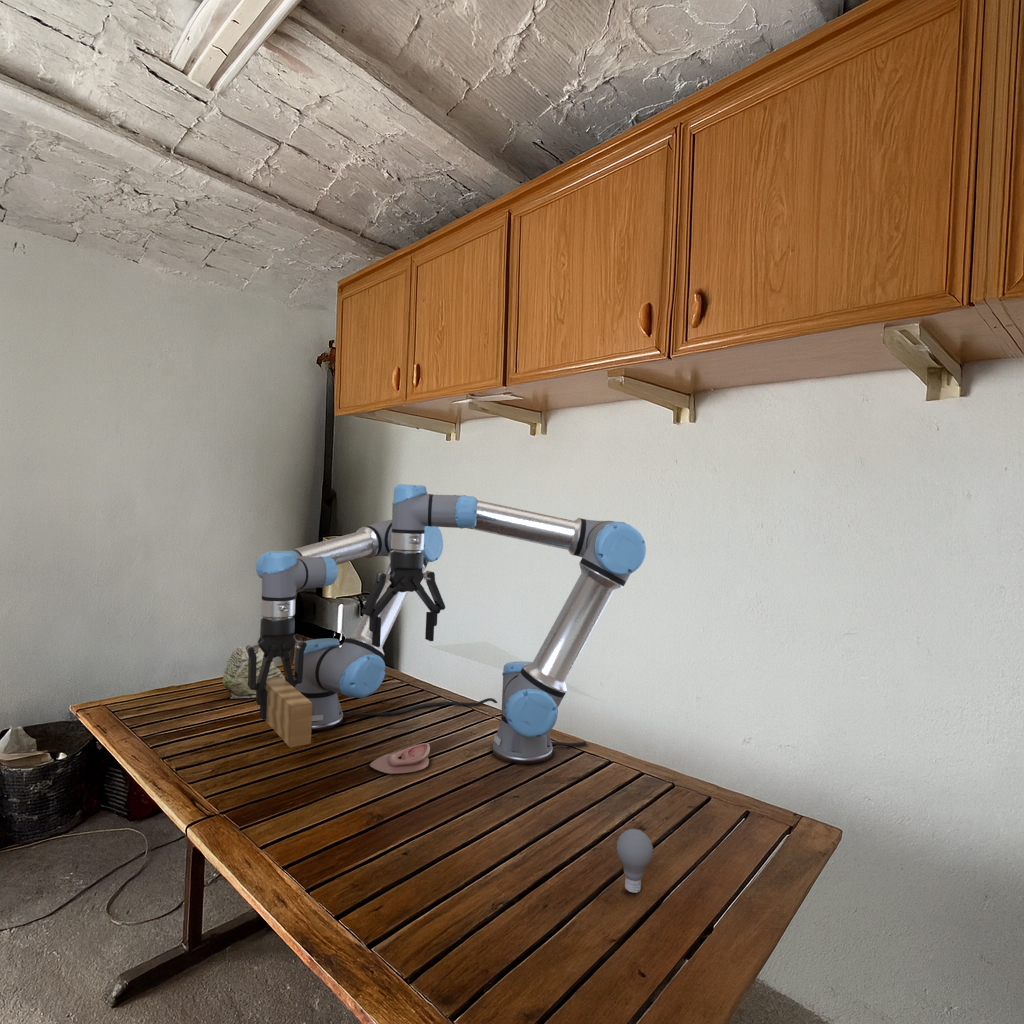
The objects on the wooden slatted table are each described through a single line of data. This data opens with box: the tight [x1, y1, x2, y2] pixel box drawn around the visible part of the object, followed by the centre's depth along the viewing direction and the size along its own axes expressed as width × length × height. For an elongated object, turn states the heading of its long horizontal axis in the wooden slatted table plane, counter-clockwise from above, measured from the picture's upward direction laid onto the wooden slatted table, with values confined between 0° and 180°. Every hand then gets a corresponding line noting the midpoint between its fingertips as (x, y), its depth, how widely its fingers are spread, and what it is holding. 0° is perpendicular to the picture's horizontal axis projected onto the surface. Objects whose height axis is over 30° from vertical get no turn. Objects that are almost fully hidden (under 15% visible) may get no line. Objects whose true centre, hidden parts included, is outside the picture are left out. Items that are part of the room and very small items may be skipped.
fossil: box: [222, 646, 286, 699], centre depth 198 cm, size 9×18×15 cm, turn 132°
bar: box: [264, 676, 312, 748], centre depth 142 cm, size 22×4×9 cm, turn 36°
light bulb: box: [615, 828, 654, 894], centre depth 106 cm, size 6×6×10 cm
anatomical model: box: [369, 742, 431, 775], centre depth 151 cm, size 13×4×12 cm
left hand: (274, 715), depth 149 cm, fingers closed on bar, 4 cm apart
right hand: (403, 643), depth 146 cm, fingers open, 13 cm apart
